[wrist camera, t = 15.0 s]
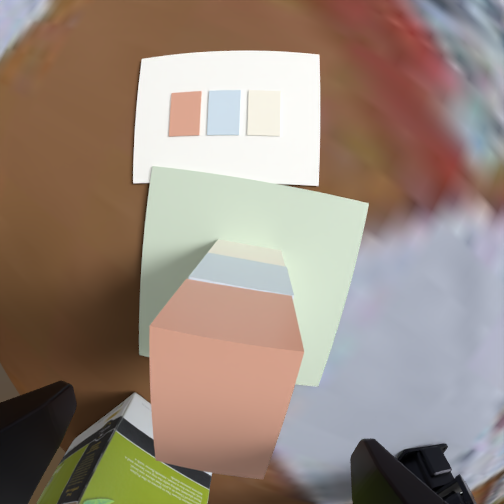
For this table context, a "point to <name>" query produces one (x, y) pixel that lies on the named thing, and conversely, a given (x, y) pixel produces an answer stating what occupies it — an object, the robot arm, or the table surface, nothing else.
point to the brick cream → (248, 252)
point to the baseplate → (258, 234)
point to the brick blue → (243, 274)
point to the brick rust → (222, 377)
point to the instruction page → (230, 115)
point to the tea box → (122, 465)
